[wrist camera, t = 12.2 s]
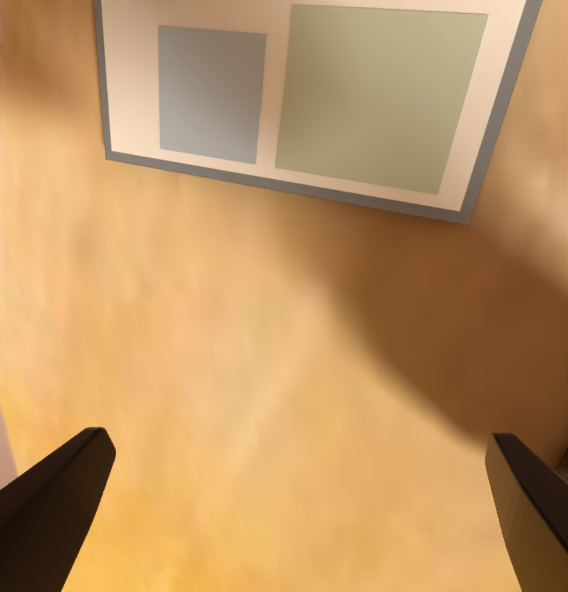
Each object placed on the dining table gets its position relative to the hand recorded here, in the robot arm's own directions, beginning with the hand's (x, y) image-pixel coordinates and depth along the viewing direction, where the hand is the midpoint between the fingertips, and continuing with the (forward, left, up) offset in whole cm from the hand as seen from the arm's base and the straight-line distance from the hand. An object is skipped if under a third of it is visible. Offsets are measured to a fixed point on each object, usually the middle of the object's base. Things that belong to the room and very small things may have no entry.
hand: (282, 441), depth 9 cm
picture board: (+5, -10, -11) cm, 16 cm away
